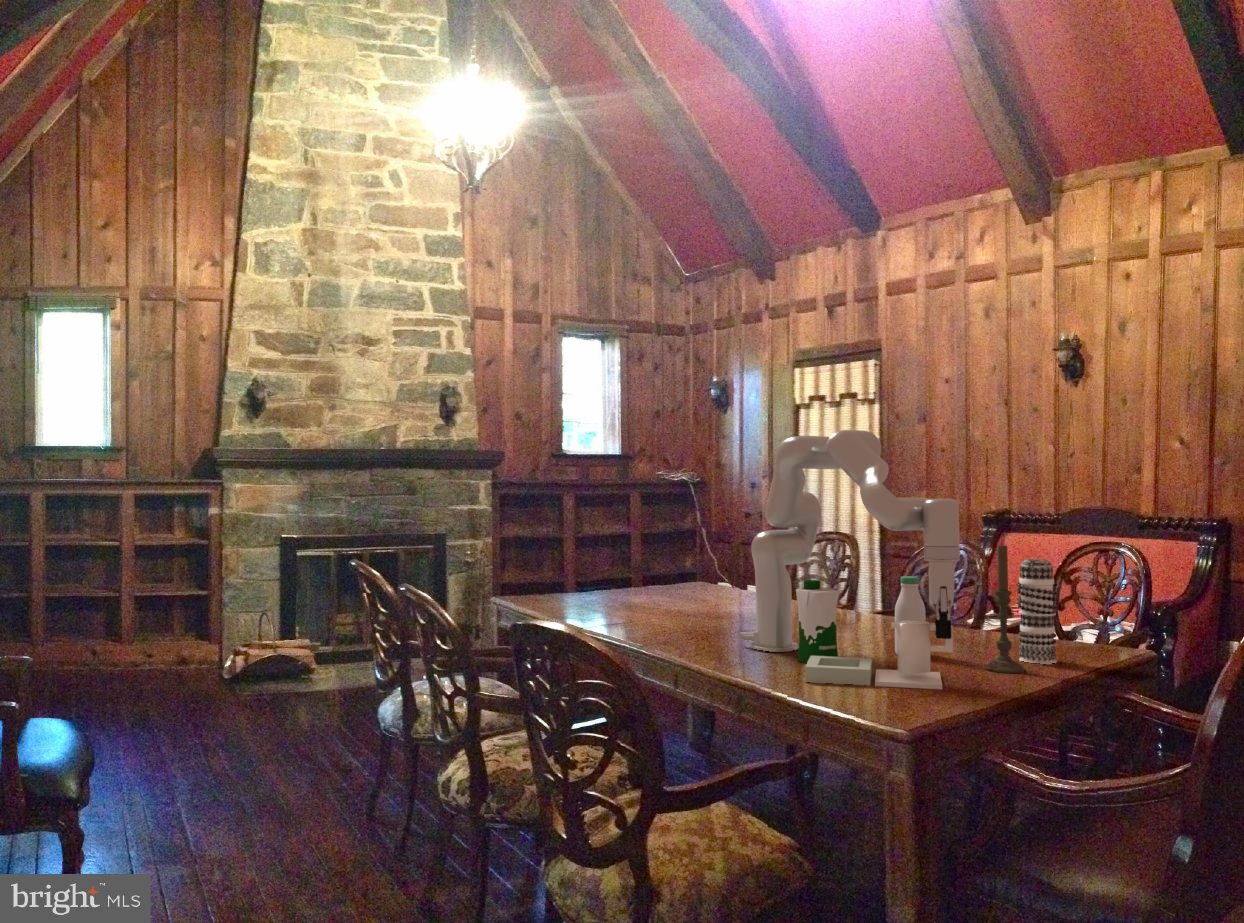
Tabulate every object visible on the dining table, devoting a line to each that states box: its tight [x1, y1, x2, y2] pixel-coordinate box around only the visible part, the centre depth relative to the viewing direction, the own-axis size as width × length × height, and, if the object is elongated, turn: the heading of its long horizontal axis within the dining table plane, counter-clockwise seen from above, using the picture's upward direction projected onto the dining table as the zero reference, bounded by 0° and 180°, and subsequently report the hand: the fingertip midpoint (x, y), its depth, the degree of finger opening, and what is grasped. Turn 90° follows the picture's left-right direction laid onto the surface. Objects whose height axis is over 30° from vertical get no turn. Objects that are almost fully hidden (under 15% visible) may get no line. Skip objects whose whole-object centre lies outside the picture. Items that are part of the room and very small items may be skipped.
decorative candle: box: [1015, 558, 1058, 665], centre depth 236 cm, size 9×9×25 cm
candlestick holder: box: [983, 542, 1026, 674], centre depth 226 cm, size 9×9×30 cm
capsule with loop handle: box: [890, 621, 954, 673], centre depth 213 cm, size 13×7×10 cm, turn 74°
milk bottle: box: [894, 575, 927, 655], centre depth 246 cm, size 8×8×20 cm
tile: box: [874, 668, 943, 690], centre depth 213 cm, size 14×14×1 cm
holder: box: [804, 656, 873, 687], centre depth 218 cm, size 14×14×4 cm
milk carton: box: [795, 579, 840, 664], centre depth 236 cm, size 9×9×20 cm
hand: (943, 636), depth 211 cm, fingers closed on capsule with loop handle
